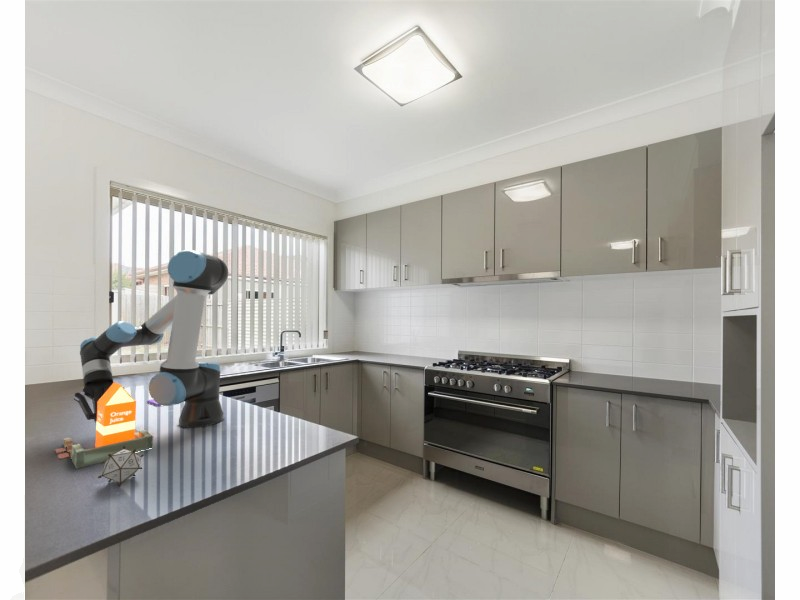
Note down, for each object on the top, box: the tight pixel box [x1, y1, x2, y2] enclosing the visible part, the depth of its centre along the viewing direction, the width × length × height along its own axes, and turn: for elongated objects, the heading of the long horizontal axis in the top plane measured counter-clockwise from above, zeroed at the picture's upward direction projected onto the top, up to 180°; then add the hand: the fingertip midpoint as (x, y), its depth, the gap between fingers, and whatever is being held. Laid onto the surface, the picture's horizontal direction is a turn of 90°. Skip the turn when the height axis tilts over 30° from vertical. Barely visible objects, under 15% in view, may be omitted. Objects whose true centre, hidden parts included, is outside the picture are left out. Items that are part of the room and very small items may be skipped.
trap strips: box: [54, 447, 70, 460], centre depth 99 cm, size 10×2×1 cm, turn 51°
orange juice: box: [94, 381, 137, 448], centre depth 104 cm, size 8×9×20 cm
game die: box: [97, 446, 145, 488], centre depth 83 cm, size 9×8×10 cm
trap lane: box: [62, 428, 154, 469], centre depth 104 cm, size 26×17×4 cm, turn 51°
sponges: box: [146, 398, 161, 407], centre depth 158 cm, size 7×13×2 cm, turn 55°
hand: (105, 434), depth 105 cm, fingers closed
